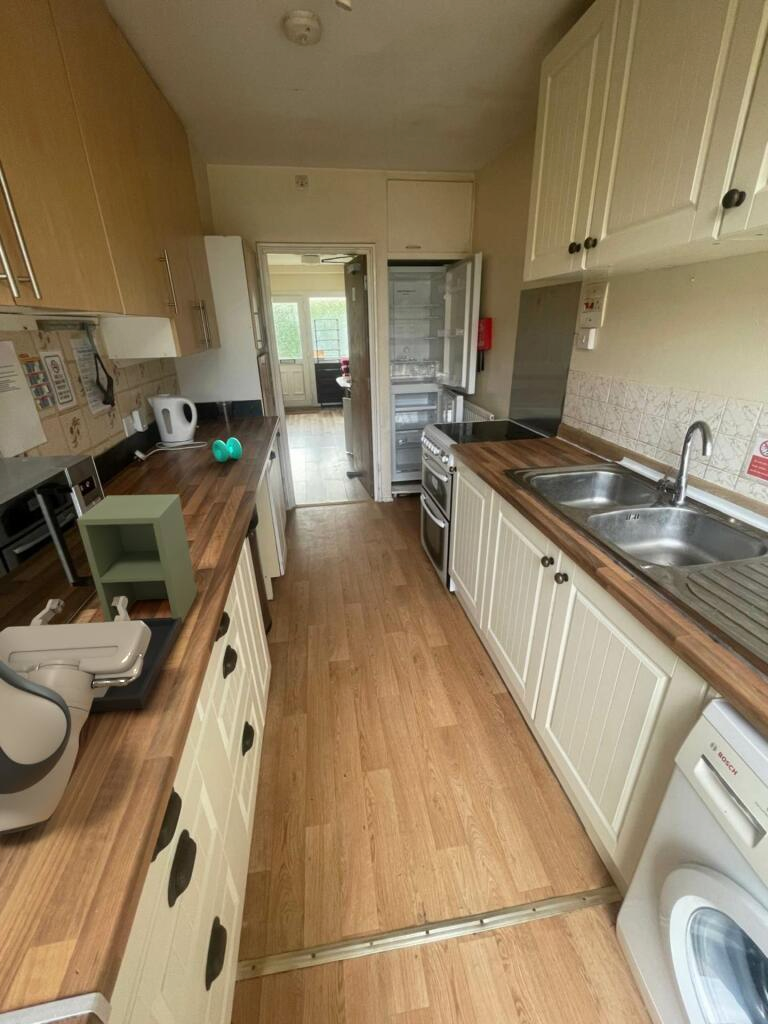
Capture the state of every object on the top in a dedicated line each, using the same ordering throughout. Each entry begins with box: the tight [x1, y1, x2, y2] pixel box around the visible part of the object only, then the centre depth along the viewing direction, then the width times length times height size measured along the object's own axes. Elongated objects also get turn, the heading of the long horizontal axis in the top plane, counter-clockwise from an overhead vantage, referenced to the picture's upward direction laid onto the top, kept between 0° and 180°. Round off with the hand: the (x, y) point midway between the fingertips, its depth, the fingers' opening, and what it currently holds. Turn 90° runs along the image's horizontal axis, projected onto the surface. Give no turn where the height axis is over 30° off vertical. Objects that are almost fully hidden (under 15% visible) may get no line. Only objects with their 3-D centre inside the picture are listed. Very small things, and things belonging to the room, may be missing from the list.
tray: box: [89, 616, 184, 713], centre depth 78 cm, size 14×21×2 cm, turn 7°
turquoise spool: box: [212, 437, 243, 463], centre depth 196 cm, size 10×10×10 cm
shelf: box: [76, 493, 198, 624], centre depth 88 cm, size 14×12×25 cm
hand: (89, 599), depth 68 cm, fingers open, 8 cm apart
